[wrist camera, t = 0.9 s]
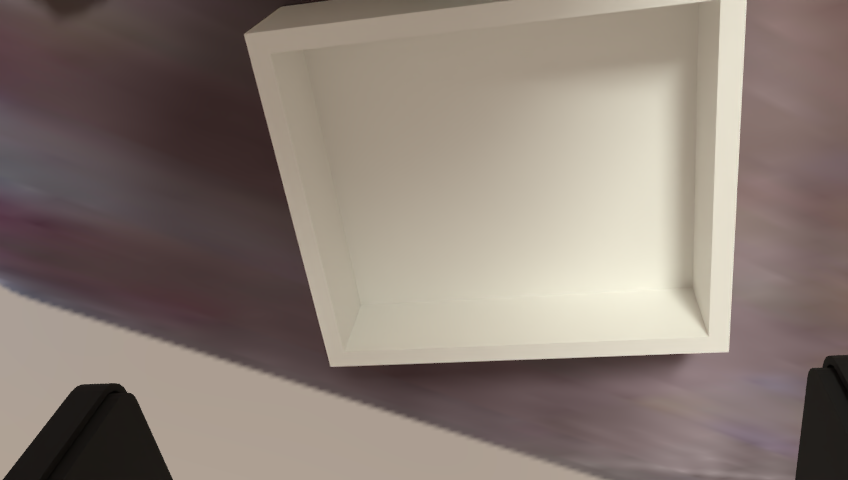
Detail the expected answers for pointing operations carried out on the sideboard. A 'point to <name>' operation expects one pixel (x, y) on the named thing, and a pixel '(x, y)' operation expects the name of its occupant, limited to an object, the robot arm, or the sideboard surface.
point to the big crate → (509, 173)
